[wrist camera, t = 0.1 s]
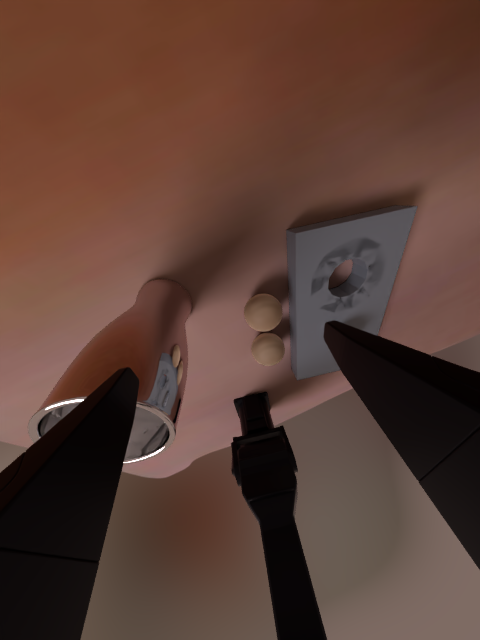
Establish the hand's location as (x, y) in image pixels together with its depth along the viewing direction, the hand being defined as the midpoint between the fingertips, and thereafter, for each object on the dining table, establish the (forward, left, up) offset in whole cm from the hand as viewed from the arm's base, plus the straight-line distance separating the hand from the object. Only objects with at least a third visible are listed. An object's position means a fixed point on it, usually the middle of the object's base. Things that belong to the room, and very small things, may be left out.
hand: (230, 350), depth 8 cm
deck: (-9, -14, -14) cm, 22 cm away
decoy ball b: (-6, -4, -12) cm, 14 cm away
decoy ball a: (-12, -4, -12) cm, 18 cm away
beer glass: (-3, +7, -14) cm, 16 cm away
